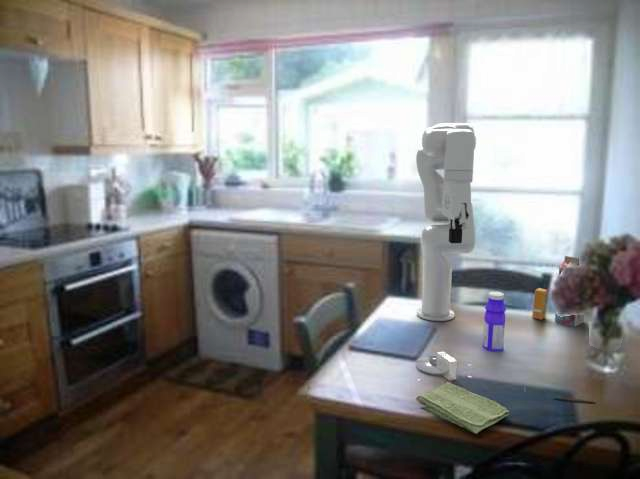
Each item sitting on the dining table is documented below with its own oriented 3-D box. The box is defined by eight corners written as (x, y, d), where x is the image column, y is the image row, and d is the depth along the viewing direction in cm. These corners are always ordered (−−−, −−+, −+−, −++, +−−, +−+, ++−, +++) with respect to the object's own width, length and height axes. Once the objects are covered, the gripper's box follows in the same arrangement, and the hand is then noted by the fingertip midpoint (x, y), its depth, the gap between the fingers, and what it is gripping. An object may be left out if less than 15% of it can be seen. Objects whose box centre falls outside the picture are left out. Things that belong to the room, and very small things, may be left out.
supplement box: (542, 320, 180) (544, 291, 178) (531, 317, 182) (534, 289, 180) (545, 317, 183) (548, 289, 181) (535, 315, 185) (537, 287, 183)
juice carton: (574, 326, 174) (581, 260, 170) (554, 321, 179) (560, 257, 175) (583, 322, 178) (590, 257, 174) (563, 317, 183) (569, 254, 179)
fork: (597, 407, 124) (598, 399, 123) (523, 398, 128) (524, 391, 127) (594, 402, 126) (595, 394, 126) (522, 393, 130) (523, 386, 130)
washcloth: (477, 439, 111) (478, 425, 110) (412, 407, 124) (412, 394, 124) (512, 418, 119) (513, 405, 119) (446, 389, 133) (447, 377, 132)
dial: (409, 362, 144) (410, 344, 143) (441, 357, 147) (442, 339, 146) (435, 382, 132) (435, 363, 131) (469, 376, 135) (470, 358, 134)
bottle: (504, 357, 151) (508, 297, 147) (483, 355, 152) (487, 296, 148) (501, 347, 158) (505, 290, 154) (481, 345, 159) (484, 289, 155)
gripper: (435, 174, 152) (433, 237, 156) (455, 179, 138) (451, 248, 141) (461, 174, 153) (458, 237, 157) (483, 178, 138) (479, 248, 142)
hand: (455, 242), depth 149 cm, fingers closed
